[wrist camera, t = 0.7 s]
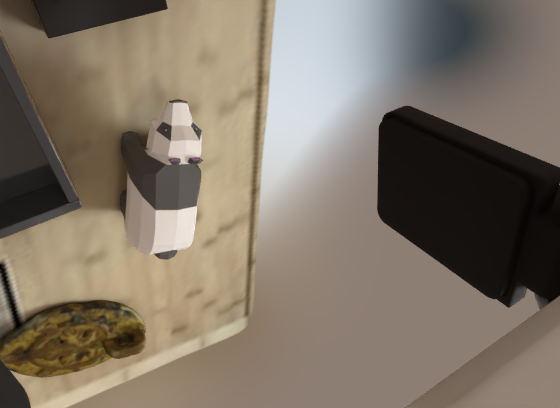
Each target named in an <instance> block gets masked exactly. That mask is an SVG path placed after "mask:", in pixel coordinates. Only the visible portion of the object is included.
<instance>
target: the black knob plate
mask: <svg viewBox="0 0 560 408" xmlns="http://www.w3.org/2000/svg"><path fill="white" fill-rule="evenodd" d="M31 2H32V4H33V6H34V9H35V11H36V13H37V16H38V18H39V21H40V23H41V25H42V28H43V30H44V32H45V34H46V35H47V37H48V38H53V37H57V36H61V35H65V34H69V33H73V32H77V31H81V30H85V29H89V28H93V27H97V26H101V25H105V24H109V23H113V22H117V21H121V20H125V19H129V18H134V17H138V16H142V15H146V14H150V13H154V12H158V11H162V10H166V9H168V7H167V3H166V0H31Z"/></svg>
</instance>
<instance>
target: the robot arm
mask: <svg viewBox="0 0 560 408" xmlns="http://www.w3.org/2000/svg"><path fill="white" fill-rule="evenodd" d="M378 147H379V148H378V204H377V210H378V214H379V216H380V218H381V219H382V221H383V222H384V223H386V224H387V225H388V226H390V227H391V228H392V229H394V230H395V231H397V232H398V233H399V234H401V235H402V236H404V237H405V238H406V239H408V240H409V241H410V242H412V243H413V244H415V245H416V246H417V247H419V248H420V249H422V250H423V251H425V252H426V253H427V254H429V255H430V256H431V257H433V258H434V259H436V260H437V261H438V262H440V263H441V264H443V265H444V266H445V267H447V268H448V269H449V270H451V271H452V272H454V273H455V274H456V275H458V276H459V277H461V278H462V279H463V280H465V281H466V282H468V283H469V284H470V285H472V286H473V287H474V288H476V289H477V290H479V291H480V292H481V293H483V294H484V295H486V296H487V297H489V298H492V299H497V300H498V301H500V302H501V303H503V304H504V305H506V306H507V307H508V308H509V307H511V306H512V305H514V304H515V303H517V302H518V301H520V300H521V299H522V298H524V297H525V294H526V291H527V288H528V289H529V290H531V291H533V292H534V294H535V298H536V301H537V303H538V306H539V308H540V310H539V311H538V312H537V313H535V314H534V315H533V316H531V317H530V318H528V319H527V320H526V321H524V322H523V323H521V324H520V325H519V326H517V327H516V328H514V329H513V330H512V331H510V332H509V333H507V334H506V335H505V336H503V337H502V338H500V339H499V340H498V341H497V342H495V343H493V344H492V345H491V346H489V347H488V348H487V349H485V350H484V351H482V352H481V353H480V354H478V355H477V356H475V357H474V358H473V359H471V360H470V361H469V362H467V363H466V364H465V365H463V366H462V367H460V368H459V369H458V370H456V371H455V372H453V373H452V374H451V375H449V376H448V377H447V378H445V379H444V380H443V381H441V382H440V383H438V384H437V385H435V386H434V387H433V388H431V389H430V390H429V391H427V392H426V393H424V394H423V395H422V396H420V397H419V398H418V399H416V400H415V401H413V402H412V403H411V404H409V405H408V406H407V407H405V408H560V185H559V184H560V168H559V167H557V166H554V165H552V164H550V163H547V162H545V161H542V160H540V159H537V158H535V157H532V156H530V155H528V154H525V153H522V152H520V151H518V150H515V149H513V148H511V147H508V146H506V145H503V144H501V143H498V142H496V141H493V140H491V139H488V138H486V137H484V136H481V135H479V134H477V133H474V132H472V131H469V130H467V129H464V128H462V127H459V126H457V125H455V124H452V123H450V122H447V121H445V120H442V119H440V118H438V117H435V116H433V115H430V114H427V113H425V112H423V111H420V110H418V109H415V108H413V107H411V106H403V107H401V108H398V109H396V110H394V111H391V112H388V113H386V114H385V115H384V117H383V119H382V122H381V123H380V125H379V146H378ZM0 408H31V406H30V402H29V398H28V396H27V393H26V391H25V390H24V388H23V387H22V385H21V384H20V383H19V382H18V380H17V379H16V378H15V377H14V375H13V374H12V373H11V372H10V371H9V369H8V368H7V367H6V366H5V364H4V363H3V362H2V361H1V360H0Z"/></svg>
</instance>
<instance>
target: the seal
mask: <svg viewBox="0 0 560 408" xmlns="http://www.w3.org/2000/svg"><path fill="white" fill-rule="evenodd" d="M145 332H146V326H145V323H144V321H143V320H142V318H141V317H140V316H139V315H138V314H137V313H136V312H135V311H134V310H133V309H131V308H129V307H127V306H125V305H122V304H120V303H116V302H111V301H107V302H106V301H99V302H93V303H89V304H68V305H66V306H62V307H58V308H54V309H50V310H47V311H45V312H41V313H39V314H37V315H36V316H34V317H32V318H31V319H30V320H28V321H27V322H26V323H24V324H22V325H21V326H20V327H18V328H16V329H14V330H13V331H11V332H10V333H9V334H8V335H7V336H6V337H5V338H4V339H2V340H1V341H0V360H1V361H2V362H3V363H4V364H5V366H6V367H7V368H8V369H9V370H11V371H14V372H17V373H19V374H22V375H27V376H34V377H41V378H42V377H51V376H57V375H63V374H68V373H72V372H77V371H81V370H84V369H86V368H90V367H93V366H95V365H98V364H100V363H103V362H105V361H107V360H108V359H110V358H112V357H113V358H117V359H120V358H125V357H128V356H131V355H135V354H138V353H140V352H141V351H143V349H144V348H145V345H146V337H145Z"/></svg>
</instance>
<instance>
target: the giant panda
mask: <svg viewBox="0 0 560 408" xmlns="http://www.w3.org/2000/svg"><path fill="white" fill-rule="evenodd" d="M201 134H202V130H201V129H200V128H199V127H198V125H197V124H196V123H195V121H193V120H192V118H191V114H190V111H189V107H188V103H187V102H186V101H182V100H179V99H178V100H173V101H169V103H167V105H166V107H165V110H164V112H163V114H162V116H161V118H160V119H156V120H152V121H151V124H150V129H149V135H148V140H147V146H146V148H145V147H143V146H141V144H140V140H139V136H138V134H137V133H133V132H127V133H124V134H123V136H122V143H121V148H122V154H123V157H124V159H125V162H126V166H127V190H126V191H123V193H122V196H121V211H122V213H123V216H124V220H125V231H126V236H127V238H128V240H129V241H130V242H131V243H132V244H133V246H134V247H135V248H136V249H137V250H139V251H141V252H143V253H145V254H148V255H150V254H155V255H156V256H157V257H158V258H159V259H167V260H168V259H170V258H172V257H174V256H175V255H176V253H177V250H182V249H187V248H188V247H190V246H191V243H192V241H193V236H194V230H195V222H196V213H197V204H198V195H199V188H200V182H201V170H200V168H199V166H198V165H197V164H199V163H201V162H202V161H203V160H202V159H200V158H198V157H199V156H200V155H201Z"/></svg>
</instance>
